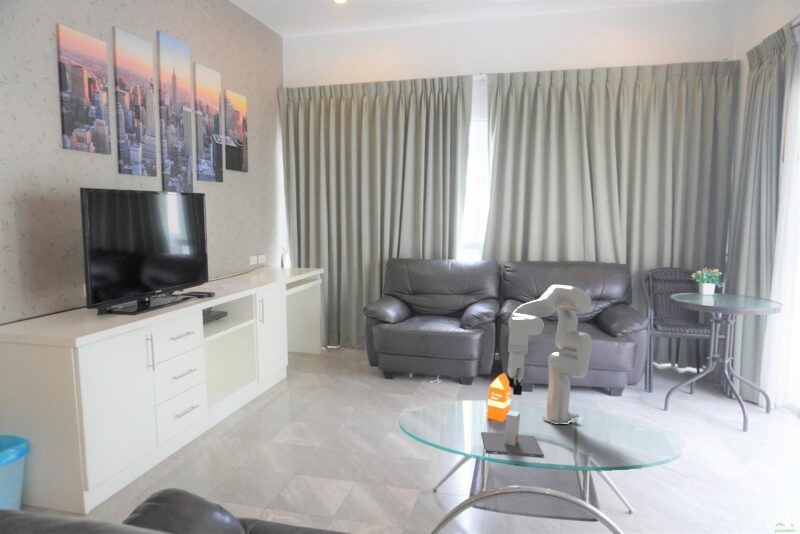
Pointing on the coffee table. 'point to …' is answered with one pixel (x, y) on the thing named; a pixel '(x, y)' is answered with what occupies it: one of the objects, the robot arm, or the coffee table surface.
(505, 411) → the orange juice
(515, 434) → the skincare box
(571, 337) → the robot arm
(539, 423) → the coffee table surface
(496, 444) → the mat
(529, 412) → the coffee table surface
